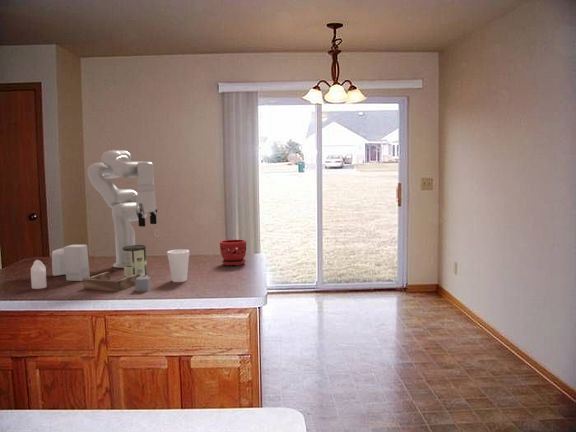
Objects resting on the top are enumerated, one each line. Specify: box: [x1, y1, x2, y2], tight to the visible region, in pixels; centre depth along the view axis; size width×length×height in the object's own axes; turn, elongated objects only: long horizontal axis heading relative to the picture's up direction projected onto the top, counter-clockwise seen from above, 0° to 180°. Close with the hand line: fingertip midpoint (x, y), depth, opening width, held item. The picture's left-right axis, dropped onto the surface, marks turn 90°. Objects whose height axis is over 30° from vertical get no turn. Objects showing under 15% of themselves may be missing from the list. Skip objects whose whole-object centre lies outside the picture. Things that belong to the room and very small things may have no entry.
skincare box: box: [63, 244, 91, 282], centre depth 260 cm, size 8×7×16 cm
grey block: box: [135, 276, 152, 292], centre depth 239 cm, size 5×5×5 cm
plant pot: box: [219, 239, 247, 267], centre depth 289 cm, size 13×13×12 cm
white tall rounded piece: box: [30, 259, 48, 290], centre depth 246 cm, size 6×12×6 cm
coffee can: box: [123, 244, 148, 278], centre depth 262 cm, size 10×10×14 cm
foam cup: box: [166, 249, 190, 283], centre depth 254 cm, size 10×9×13 cm
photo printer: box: [51, 247, 66, 277], centre depth 272 cm, size 10×4×12 cm, turn 123°
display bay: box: [82, 271, 140, 292], centre depth 247 cm, size 16×17×4 cm
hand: (147, 225), depth 272 cm, fingers open, 9 cm apart
